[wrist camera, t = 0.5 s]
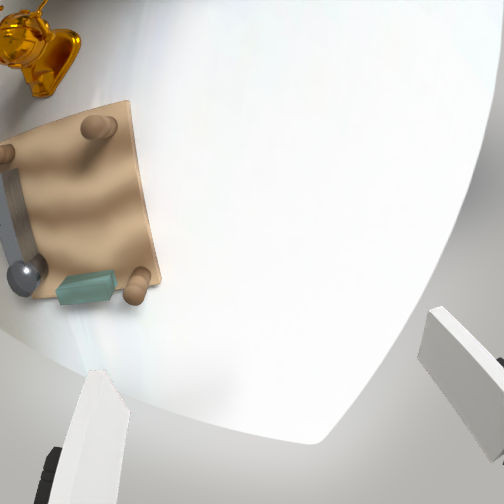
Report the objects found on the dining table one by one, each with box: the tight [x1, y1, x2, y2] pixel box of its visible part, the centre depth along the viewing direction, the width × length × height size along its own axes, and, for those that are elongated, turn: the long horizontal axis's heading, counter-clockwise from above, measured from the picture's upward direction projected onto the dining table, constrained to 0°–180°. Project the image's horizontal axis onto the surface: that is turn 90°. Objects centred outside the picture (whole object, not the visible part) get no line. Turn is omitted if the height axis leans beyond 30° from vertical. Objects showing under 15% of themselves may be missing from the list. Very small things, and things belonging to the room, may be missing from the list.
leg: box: [0, 168, 48, 297], centre depth 29 cm, size 15×4×4 cm, turn 6°
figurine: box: [0, 0, 81, 97], centre depth 20 cm, size 8×11×12 cm
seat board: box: [0, 100, 162, 306], centre depth 30 cm, size 22×20×6 cm
